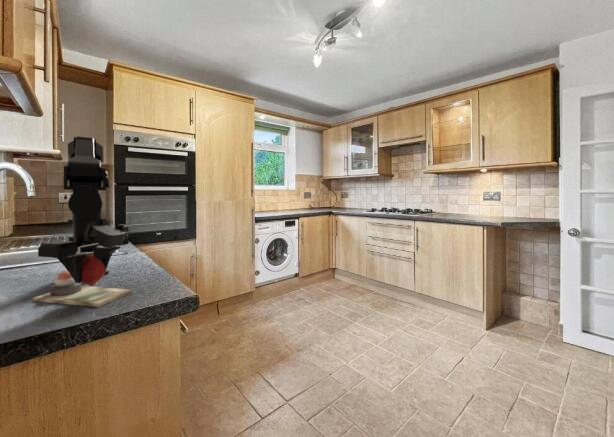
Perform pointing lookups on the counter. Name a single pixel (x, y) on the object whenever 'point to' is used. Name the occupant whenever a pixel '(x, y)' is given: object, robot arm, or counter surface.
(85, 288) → the board
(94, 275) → the onion
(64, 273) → the button
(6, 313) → the counter surface
